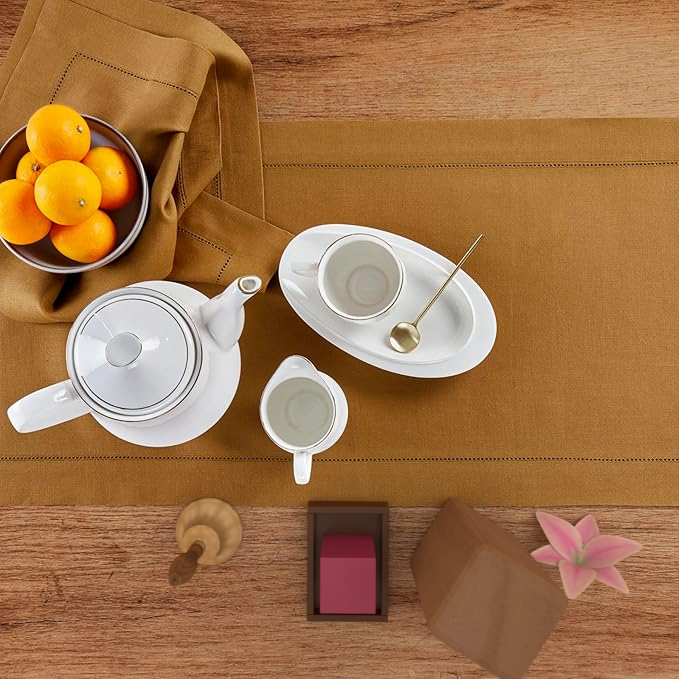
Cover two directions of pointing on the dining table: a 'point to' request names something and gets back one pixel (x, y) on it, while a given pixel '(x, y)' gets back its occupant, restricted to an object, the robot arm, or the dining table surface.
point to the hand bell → (204, 537)
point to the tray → (347, 521)
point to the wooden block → (484, 591)
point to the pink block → (348, 574)
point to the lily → (583, 553)
